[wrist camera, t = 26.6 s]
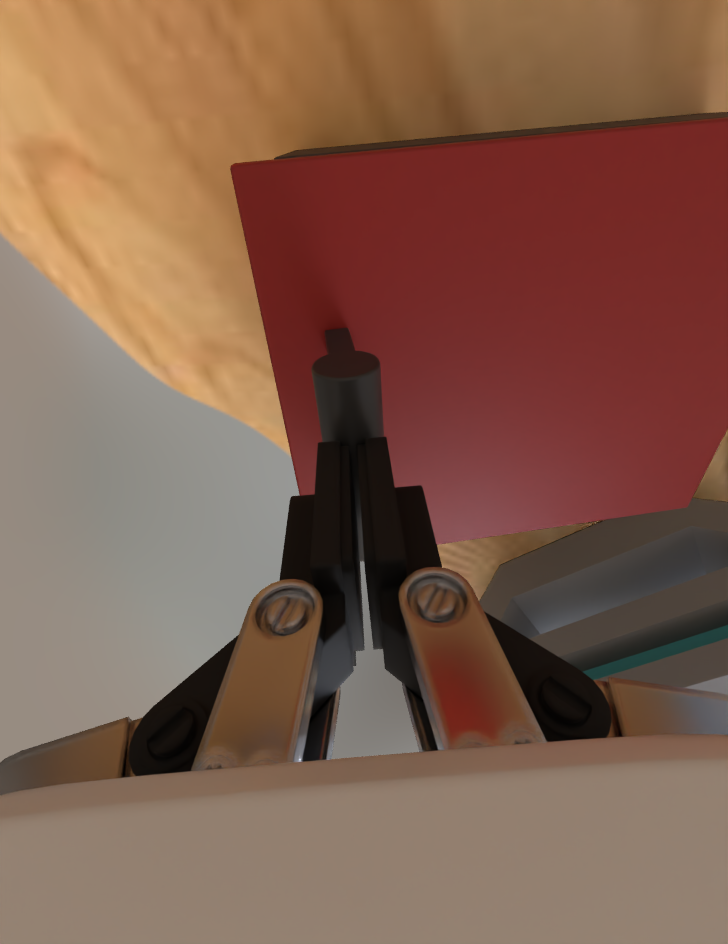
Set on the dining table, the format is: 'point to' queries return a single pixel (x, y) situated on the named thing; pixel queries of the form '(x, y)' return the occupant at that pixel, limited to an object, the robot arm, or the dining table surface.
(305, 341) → the lid
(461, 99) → the dining table surface
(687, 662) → the sharpening stone
